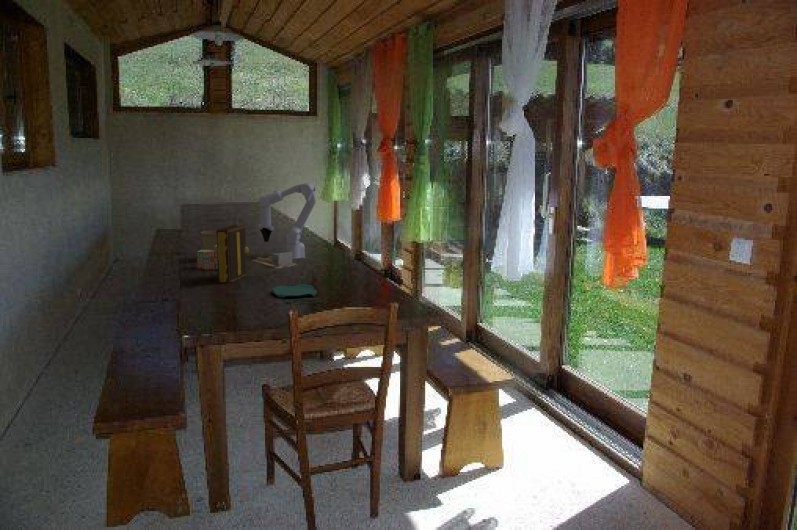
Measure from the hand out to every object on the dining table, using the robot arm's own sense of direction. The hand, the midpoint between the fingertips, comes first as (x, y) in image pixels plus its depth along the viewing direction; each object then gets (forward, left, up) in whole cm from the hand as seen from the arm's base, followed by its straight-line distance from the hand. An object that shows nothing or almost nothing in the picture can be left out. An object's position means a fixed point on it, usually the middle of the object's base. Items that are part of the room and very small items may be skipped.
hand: (266, 241), depth 361 cm
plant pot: (+26, -10, -10) cm, 29 cm away
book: (+39, +39, -10) cm, 56 cm away
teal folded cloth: (+34, +88, -10) cm, 95 cm away
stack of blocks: (+34, +12, -10) cm, 37 cm away
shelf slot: (+5, +17, -9) cm, 20 cm away
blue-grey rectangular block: (+5, +24, -9) cm, 26 cm away
